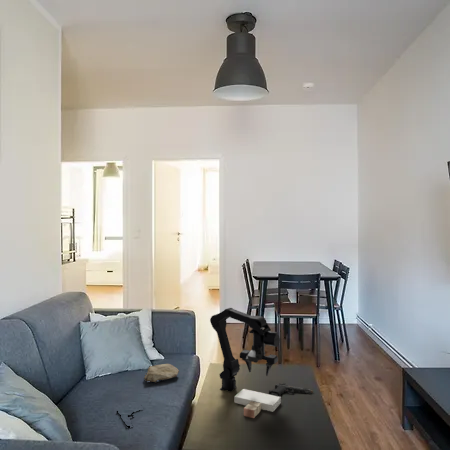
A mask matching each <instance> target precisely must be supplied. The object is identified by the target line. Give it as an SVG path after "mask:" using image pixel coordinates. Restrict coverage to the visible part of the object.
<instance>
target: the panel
mask: <svg viewBox="0 0 450 450" xmlns="http://www.w3.org/2000/svg"><path fill="white" fill-rule="evenodd" d="M281 398H282V397H281V396H280V397H278V396H274V395H269V393H264V392H260V391H255V390H251V389H247V388H243V389H241V390H240V391H239V392H238V393H237V394H236V395H234V398H233V399H234V403H235V404H239V405H243V406H245V407H246V406H247V405H248V404H249V403H250V402H251V401H252V402H257V403H261V410H263V411H267V412H275V410H276V409H277V408H278V407H279V406H280V405H281V404H282V403H281V402H282V399H281Z"/></svg>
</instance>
